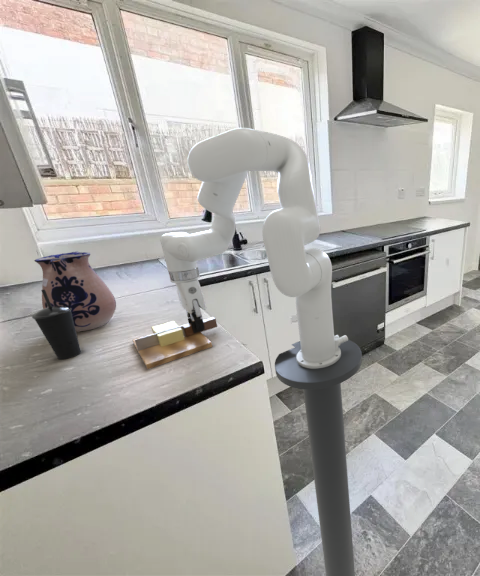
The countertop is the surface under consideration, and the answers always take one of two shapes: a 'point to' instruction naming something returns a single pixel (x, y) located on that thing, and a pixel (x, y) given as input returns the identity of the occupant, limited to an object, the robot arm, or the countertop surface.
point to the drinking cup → (58, 329)
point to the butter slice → (170, 337)
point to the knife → (187, 329)
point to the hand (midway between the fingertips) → (197, 329)
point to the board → (173, 350)
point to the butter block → (164, 327)
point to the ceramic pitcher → (77, 289)
